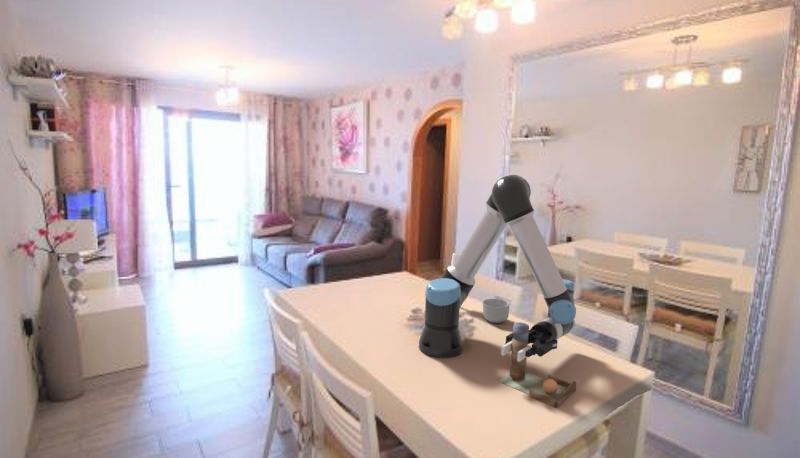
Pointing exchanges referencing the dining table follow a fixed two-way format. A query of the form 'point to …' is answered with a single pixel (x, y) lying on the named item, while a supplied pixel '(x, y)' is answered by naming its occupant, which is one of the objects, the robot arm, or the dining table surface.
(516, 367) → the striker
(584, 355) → the dining table surface
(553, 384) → the ball
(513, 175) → the robot arm
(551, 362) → the dining table surface
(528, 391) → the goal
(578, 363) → the dining table surface
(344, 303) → the dining table surface
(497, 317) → the teacup
